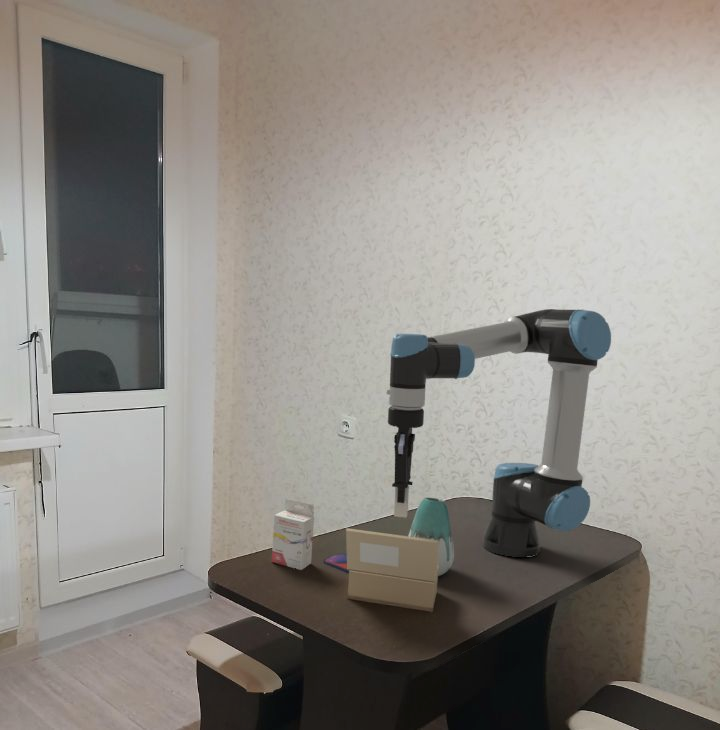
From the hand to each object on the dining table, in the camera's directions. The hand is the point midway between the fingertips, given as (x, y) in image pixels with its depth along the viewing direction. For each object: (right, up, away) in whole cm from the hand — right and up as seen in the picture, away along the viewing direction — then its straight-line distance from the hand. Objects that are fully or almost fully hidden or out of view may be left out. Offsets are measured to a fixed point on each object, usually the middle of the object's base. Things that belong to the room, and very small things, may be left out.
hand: (400, 515), depth 135 cm
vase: (+8, -17, +16) cm, 25 cm away
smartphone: (-10, -17, +16) cm, 25 cm away
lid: (-2, -7, -6) cm, 9 cm away
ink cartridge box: (-25, -15, +16) cm, 33 cm away
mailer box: (-2, -18, +2) cm, 18 cm away
